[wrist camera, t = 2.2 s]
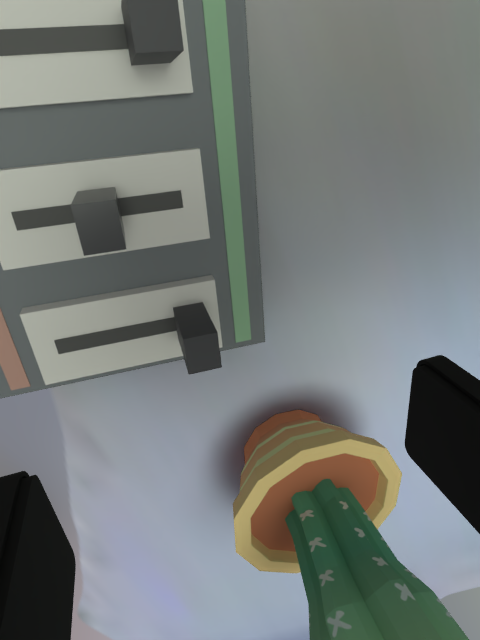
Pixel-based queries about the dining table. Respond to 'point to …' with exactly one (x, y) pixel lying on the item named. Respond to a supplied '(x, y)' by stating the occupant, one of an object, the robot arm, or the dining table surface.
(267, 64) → the dining table surface
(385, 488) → the potted cactus
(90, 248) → the breaker handle
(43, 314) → the breaker panel
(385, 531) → the dining table surface
